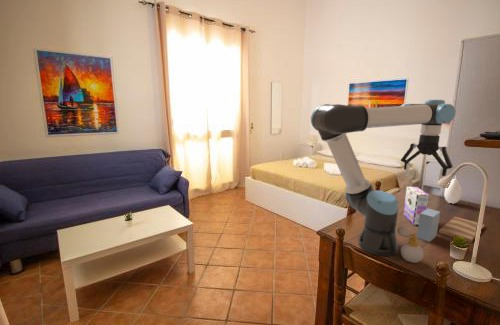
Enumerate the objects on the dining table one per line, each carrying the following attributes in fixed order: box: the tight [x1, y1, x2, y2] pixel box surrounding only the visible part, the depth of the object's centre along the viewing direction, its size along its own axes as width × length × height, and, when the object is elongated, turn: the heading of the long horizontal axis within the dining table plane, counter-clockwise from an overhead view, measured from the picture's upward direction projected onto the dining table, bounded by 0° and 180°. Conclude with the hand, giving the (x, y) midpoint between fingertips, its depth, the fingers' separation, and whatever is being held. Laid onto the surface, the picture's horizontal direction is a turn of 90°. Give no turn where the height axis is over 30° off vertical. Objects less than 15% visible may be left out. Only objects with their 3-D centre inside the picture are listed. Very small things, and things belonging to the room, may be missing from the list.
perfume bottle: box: [397, 226, 424, 264], centre depth 100 cm, size 8×10×12 cm
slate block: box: [416, 208, 441, 243], centre depth 117 cm, size 5×9×12 cm, turn 128°
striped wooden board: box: [438, 216, 485, 243], centre depth 125 cm, size 24×12×1 cm, turn 128°
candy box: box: [403, 186, 430, 226], centre depth 134 cm, size 14×6×16 cm, turn 168°
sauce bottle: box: [444, 175, 462, 205], centre depth 156 cm, size 8×8×18 cm
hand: (422, 179), depth 122 cm, fingers open, 13 cm apart
